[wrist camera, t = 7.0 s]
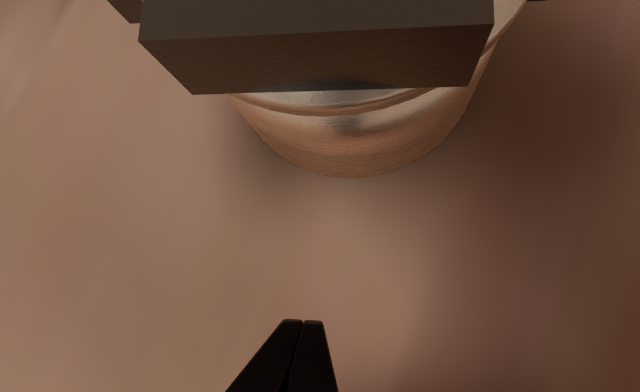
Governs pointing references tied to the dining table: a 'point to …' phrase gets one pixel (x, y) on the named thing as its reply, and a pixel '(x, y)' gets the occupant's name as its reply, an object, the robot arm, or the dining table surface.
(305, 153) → the cooker pot
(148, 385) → the dining table surface
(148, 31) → the cooker lid
